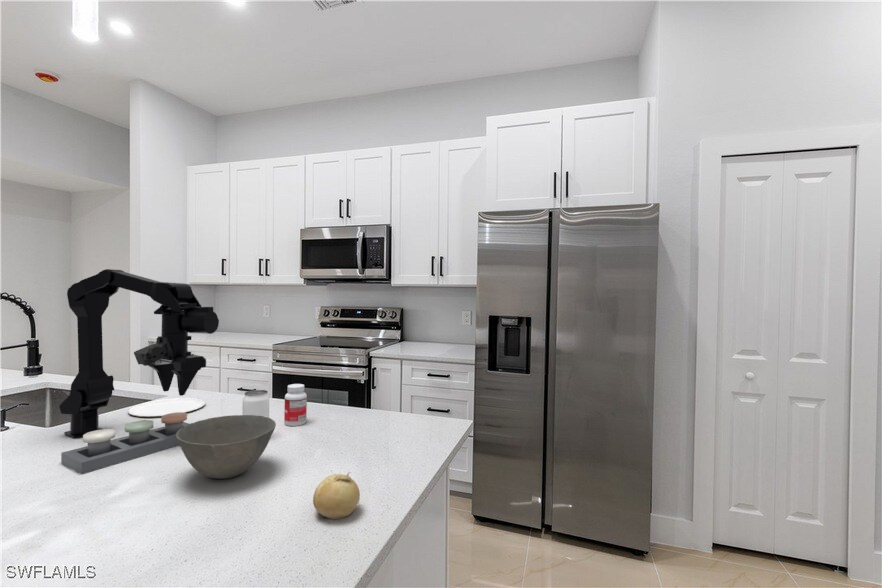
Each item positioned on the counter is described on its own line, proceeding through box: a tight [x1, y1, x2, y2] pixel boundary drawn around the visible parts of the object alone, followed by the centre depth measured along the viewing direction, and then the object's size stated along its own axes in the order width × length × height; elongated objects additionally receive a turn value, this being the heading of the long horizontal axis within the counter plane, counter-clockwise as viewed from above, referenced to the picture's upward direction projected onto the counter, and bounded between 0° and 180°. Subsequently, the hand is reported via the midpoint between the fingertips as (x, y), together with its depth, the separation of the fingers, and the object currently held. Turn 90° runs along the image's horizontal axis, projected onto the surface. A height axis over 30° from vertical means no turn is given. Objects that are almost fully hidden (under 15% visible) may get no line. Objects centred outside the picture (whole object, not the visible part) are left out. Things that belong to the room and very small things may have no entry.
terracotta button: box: [160, 412, 188, 434], centre depth 108 cm, size 6×6×4 cm
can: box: [241, 389, 270, 418], centre depth 111 cm, size 6×6×12 cm
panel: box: [60, 421, 190, 475], centre depth 101 cm, size 10×26×2 cm, turn 150°
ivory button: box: [82, 428, 116, 455], centre depth 94 cm, size 6×6×4 cm
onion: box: [312, 471, 361, 520], centre depth 75 cm, size 8×8×7 cm
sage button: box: [124, 419, 155, 444], centre depth 101 cm, size 6×6×4 cm
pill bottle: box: [283, 383, 308, 427], centre depth 123 cm, size 6×6×11 cm
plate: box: [127, 397, 206, 418], centre depth 135 cm, size 21×21×1 cm
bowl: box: [176, 414, 277, 480], centre depth 89 cm, size 19×19×10 cm
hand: (173, 393), depth 108 cm, fingers open, 7 cm apart
